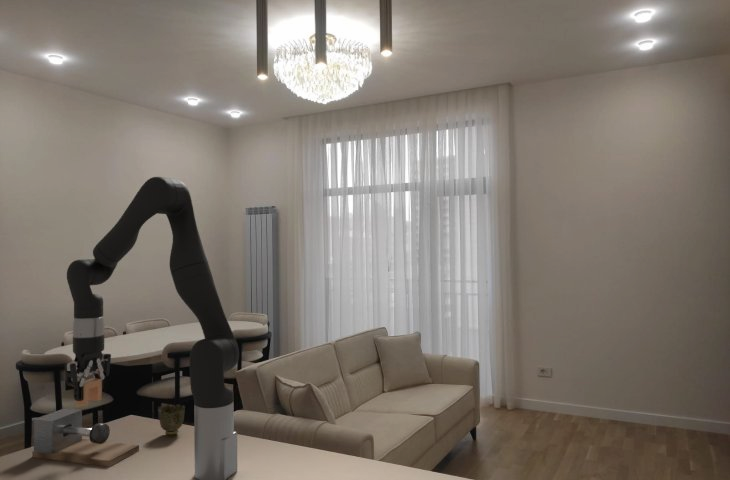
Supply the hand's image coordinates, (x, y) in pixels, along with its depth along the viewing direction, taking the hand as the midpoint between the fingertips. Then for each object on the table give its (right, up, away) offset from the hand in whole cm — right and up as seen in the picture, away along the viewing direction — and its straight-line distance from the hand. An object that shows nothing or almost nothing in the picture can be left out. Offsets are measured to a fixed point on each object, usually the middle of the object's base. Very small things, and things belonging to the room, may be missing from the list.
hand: (88, 396), depth 143 cm
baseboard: (-1, -15, +1) cm, 16 cm away
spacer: (0, -1, 0) cm, 1 cm away
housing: (-9, -14, +3) cm, 17 cm away
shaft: (-1, -12, 0) cm, 12 cm away
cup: (+17, -16, +15) cm, 27 cm away
